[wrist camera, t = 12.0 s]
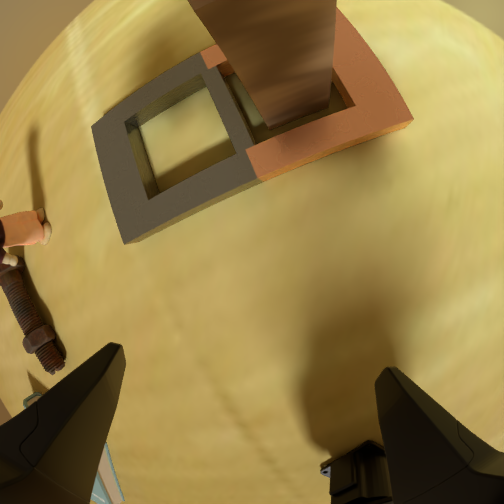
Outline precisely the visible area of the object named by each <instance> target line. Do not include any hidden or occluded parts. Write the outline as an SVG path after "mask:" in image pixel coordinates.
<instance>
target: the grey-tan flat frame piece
mask: <svg viewBox="0 0 504 504" xmlns="http://www.w3.org/2000/svg"><path fill="white" fill-rule="evenodd" d="M234 72H235V71H234V69H233V68H232V66H231V65H230V63H229V61H228V60H227V58H226V57H225V55H224V54H223V52H222V51H221V49H220V48H219V46H218V45H217V44H215V45H213V46H211V47H209V48H207V49H205V50H203V51H201V52H199V53H197V54H195V55H194V56H192V57H190V58H188V59H186V60H185V61H183V62H181V63H179V64H178V65H176V66H174V67H172V68H171V69H169V70H168V71H166V72H164V73H163V74H161V75H159V76H158V77H156V78H155V79H153V80H152V81H150V82H149V83H147V84H146V85H144V86H143V87H141V88H140V89H138V90H137V91H136V92H134V93H133V94H131V95H130V96H129V97H127V98H126V99H125V100H123V101H122V102H121V103H119V104H118V105H117V106H115V107H114V108H113V109H112V110H110V111H109V112H108V113H107V114H105V115H104V116H103V117H102V118H100V119H99V120H98V121H97V122H96V123H95V124H93V125H92V126H91V128H92V133H93V138H94V142H95V147H96V151H97V155H98V160H99V164H100V168H101V171H102V175H103V179H104V183H105V186H106V190H107V193H108V197H109V200H110V203H111V207H112V210H113V213H114V216H115V219H116V223H117V226H118V229H119V231H120V234H121V237H122V240H123V243H124V245H125V244H131V243H136V242H140V241H142V240H144V239H146V238H148V237H149V236H151V235H153V234H155V233H157V232H159V231H161V230H163V229H165V228H167V227H169V226H171V225H173V224H175V223H177V222H179V221H181V220H183V219H185V218H187V217H189V216H191V215H193V214H195V213H197V212H199V211H201V210H203V209H205V208H207V207H209V206H211V205H214V204H216V203H218V202H220V201H222V200H224V199H226V198H229V197H231V196H233V195H235V194H237V193H239V192H242V191H244V190H246V189H248V188H251V187H253V186H255V185H257V184H260V183H262V182H264V181H267V180H269V179H271V178H274V177H276V176H278V175H281V174H283V173H285V172H288V171H290V170H293V169H295V168H297V167H300V166H302V165H305V164H307V163H310V162H312V161H315V160H317V159H320V158H322V157H325V156H328V155H330V154H333V153H335V152H338V151H341V150H343V149H346V148H349V147H351V146H354V145H357V144H360V143H362V142H365V141H368V140H371V139H374V138H376V137H379V136H382V135H385V134H388V133H391V132H394V131H397V130H400V129H403V128H405V127H407V126H408V125H409V124H410V123H411V122H412V121H413V120H414V118H413V116H412V114H411V113H410V111H409V109H408V107H407V105H406V103H405V102H404V100H403V98H402V96H401V95H400V93H399V91H398V89H397V88H396V86H395V84H394V83H393V81H392V80H391V78H390V76H389V75H388V73H387V72H386V70H385V69H384V67H383V66H382V64H381V63H380V61H379V60H378V58H377V57H376V56H375V54H374V53H373V51H372V50H371V49H370V47H369V46H368V44H367V43H366V42H365V40H364V39H363V38H362V37H361V35H360V34H359V33H358V31H357V30H356V29H355V28H354V27H353V25H352V24H351V23H350V22H349V21H348V19H347V18H346V17H345V16H344V15H343V14H342V12H341V11H340V10H339V9H338V8H337V7H336V24H335V41H334V54H333V67H332V78H331V80H332V82H333V83H334V85H335V87H336V88H337V90H338V92H339V93H340V95H341V97H342V99H343V100H344V102H345V104H346V106H347V108H348V109H345V110H342V111H339V112H336V113H334V114H331V115H328V116H325V117H322V118H320V119H317V120H314V121H312V122H309V123H307V124H304V125H302V126H299V127H297V128H294V129H292V130H289V131H287V132H284V133H282V134H279V135H277V136H275V137H272V138H270V139H268V140H266V141H263V142H261V143H259V144H256V142H255V140H254V138H253V136H252V133H251V131H250V129H249V127H248V125H247V123H246V121H245V118H244V116H243V114H242V112H241V110H240V108H239V106H238V104H237V102H236V100H235V97H234V95H233V93H232V91H231V89H230V87H229V85H228V83H227V81H226V79H225V77H226V76H228V75H230V74H232V73H234ZM206 86H207V88H208V90H209V92H210V95H211V97H212V99H213V101H214V103H215V106H216V108H217V110H218V112H219V115H220V117H221V119H222V121H223V124H224V126H225V128H226V130H227V133H228V135H229V137H230V140H231V142H232V144H233V147H234V149H235V151H236V153H237V154H235V155H233V156H231V157H229V158H227V159H224V160H222V161H220V162H218V163H216V164H214V165H212V166H210V167H208V168H206V169H205V170H203V171H201V172H199V173H197V174H195V175H193V176H191V177H189V178H187V179H186V180H184V181H182V182H180V183H178V184H176V185H175V186H173V187H171V188H169V189H167V190H166V191H164V192H162V193H159V190H158V187H157V184H156V181H155V178H154V176H153V173H152V170H151V167H150V164H149V161H148V158H147V154H146V151H145V148H144V145H143V142H142V139H141V135H140V132H139V129H138V127H140V126H141V125H143V124H144V123H146V122H147V121H149V120H150V119H152V118H153V117H155V116H156V115H158V114H159V113H161V112H163V111H164V110H166V109H167V108H169V107H171V106H172V105H174V104H176V103H177V102H179V101H181V100H183V99H184V98H186V97H188V96H190V95H191V94H193V93H195V92H197V91H199V90H200V89H202V88H204V87H206Z"/></svg>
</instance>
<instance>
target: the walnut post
mask: <svg viewBox="0 0 504 504" xmlns="http://www.w3.org/2000/svg"><path fill="white" fill-rule="evenodd" d="M188 1H189V3H190V5H191V7H192V8H193V10H194V12H195V13H196V14H197V16H198V17H199V19H200V20H201V21H202V23H203V24H204V26H205V27H206V28H207V30H208V31H209V33H210V34H211V36H212V37H213V39H214V40H215V42H216V43H217V45H218V46H219V48H220V49H221V51H222V52H223V54H224V55H225V57H226V58H227V60H228V61H229V63H230V65H231V66H232V68H233V69H234V71H235V72H236V74H237V76H238V77H239V79H240V81H241V82H242V84H243V85H244V87H245V89H246V90H247V92H248V94H249V95H250V97H251V99H252V100H253V102H254V104H255V106H256V107H257V109H258V111H259V113H260V114H261V116H262V118H263V120H264V121H265V123H266V125H267V127H268V128H269V130H272V129H274V128H276V127H279V126H281V125H284V124H286V123H289V122H291V121H294V120H296V119H299V118H301V117H304V116H306V115H309V114H312V113H314V112H317V111H320V110H323V109H325V108H328V107H329V98H330V88H331V78H332V67H333V54H334V41H335V24H336V2H337V0H188Z"/></svg>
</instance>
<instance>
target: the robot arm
mask: <svg viewBox="0 0 504 504" xmlns="http://www.w3.org/2000/svg"><path fill="white" fill-rule="evenodd" d="M125 367H126V360H125V355H124V350H123V346H122V345H121V344H117V343H113V342H110V343H108V344H107V345H105V346H104V347H103V348H101V349H100V350H99V351H98V352H96V353H95V354H94V355H93V356H91V357H90V358H89V359H87V360H86V361H85V362H84V363H82V364H81V365H80V366H79V367H77V368H76V369H75V370H73V371H72V372H71V373H70V374H68V375H67V376H66V377H65V378H63V379H62V380H61V381H60V382H58V383H57V384H56V385H55V386H53V387H52V388H51V389H50V390H48V391H47V392H46V393H45V394H43V395H42V396H41V397H40V398H38V399H37V401H34V402H33V403H32V404H31V405H30V406H28V407H27V408H26V409H24V410H23V411H22V412H20V413H19V414H18V415H16V416H15V417H13V418H12V419H10V420H9V421H7V422H6V423H4V424H2V425H1V426H0V504H90V499H91V495H92V491H93V487H94V483H95V479H96V475H97V471H98V467H99V464H100V460H101V456H102V453H103V449H104V446H105V443H106V439H107V436H108V433H109V429H110V426H111V423H112V420H113V417H114V414H115V411H116V407H117V404H118V399H119V394H120V389H121V385H122V380H123V376H124V371H125ZM375 393H376V401H377V410H378V418H379V424H380V429H381V434H382V439H383V444H384V447H382V446H380V445H378V444H377V443H375V442H373V441H367V442H365V443H363V444H362V445H360V446H359V447H357V448H356V449H354V450H352V451H351V452H349V453H347V454H346V455H344V456H342V457H341V458H339V459H337V460H336V461H334V462H332V463H330V464H328V465H327V466H325V467H323V468H321V472H320V473H321V474H322V475H325V476H327V477H329V478H330V491H329V494H330V495H331V504H504V453H503V452H500V451H497V450H496V449H494V448H493V447H491V446H490V445H488V444H487V443H486V442H484V441H483V440H482V439H480V438H479V437H477V436H476V435H475V434H473V433H472V432H471V431H470V430H468V429H467V428H466V427H465V426H464V425H462V424H461V423H460V422H459V421H458V420H456V419H455V418H454V417H453V416H452V415H451V414H450V413H449V412H447V411H446V410H445V409H444V408H443V407H442V406H441V405H439V404H438V403H437V402H436V401H435V400H434V399H433V398H431V397H430V396H429V395H428V394H427V393H426V392H424V391H423V390H422V389H421V388H420V387H419V386H418V385H416V384H415V383H414V382H413V381H412V380H411V379H409V378H408V377H407V376H406V375H405V374H404V373H402V372H401V371H400V370H399V369H398V368H397V367H394V366H393V367H386V368H384V369H383V371H382V372H381V374H380V375H379V377H378V378H377V379H376V381H375Z"/></svg>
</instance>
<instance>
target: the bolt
mask: <svg viewBox="0 0 504 504" xmlns="http://www.w3.org/2000/svg"><path fill="white" fill-rule="evenodd" d="M15 256H17V258H18V263H17V265H16V266H11V265H10V264H4V263H2V264H0V286H2V289H3V291H4V293H5V295H6V297H7V299H8V301H9V304H10V306H11V309H12V311H13V313H14V315H15V316H16V318H17V321H18V323H19V325H20V327H21V328H22V330H23V333H24V335H26V336H25V338H24V339H23V346H24V348H25V350H26V352H27V353H30V354H33V353H35V354H36V357H38V359H39V361H40V362H41V364H42V366H43V367H44V369H45V371H47V372H49V373H50V374H51V375H54V374H55V370H56V371H59V370H61V369H62V368H63V367H64V366H65V362H64V360H63V358H62V357H61V355H59V354H60V353H58V350H57V348H55V346H54V343H52V342H53V340H54V339H55V333H54V331H53V329H52V327H51V326H50V325H44V324H42V322H41V319H40V317H38V316H39V315H38V314H37V312H36V310H35V307H34V305H32V304H33V303H32V301H31V300H30V298H29V297H30V296H29V295H28V293H27V291H26V288H25V286H24V282H23V279H22V277H21V273H22V271H23V270H24V268H25V264H24V262H23V259H22V258H21V257H20V256H18V255H15Z"/></svg>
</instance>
